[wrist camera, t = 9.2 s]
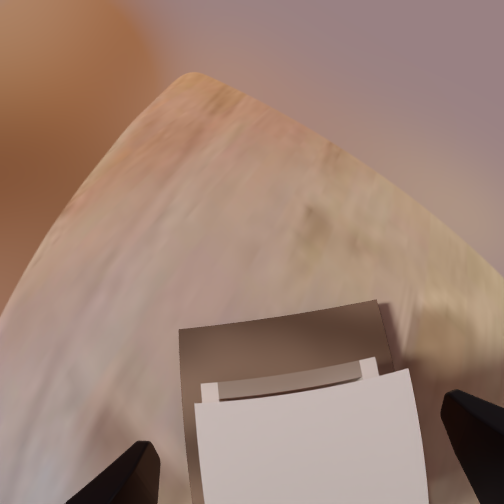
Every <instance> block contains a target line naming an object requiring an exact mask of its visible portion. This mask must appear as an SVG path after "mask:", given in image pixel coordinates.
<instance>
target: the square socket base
mask: <svg viewBox="0 0 504 504" xmlns="http://www.w3.org/2000/svg"><path fill="white" fill-rule="evenodd" d="M179 353H180V375H181V392H182V407H183V420H184V432H185V443H186V453H187V462H188V471H189V480H190V488H191V496H192V503H193V504H205V502H204V494H203V486H202V478H201V469H200V460H199V451H198V441H197V430H196V418H195V406H194V403H211V402H224V401H235V400H245V399H254V398H263V397H271V396H278V395H285V394H292V393H298V392H304V391H310V390H316V389H321V388H327V387H332V386H337V385H342V384H347V383H351V382H356V381H360V380H365V379H369V378H373V377H377V376H381V375H385V374H389V373H393V372H395V371H394V367H393V362H392V358H391V354H390V349H389V345H388V341H387V337H386V333H385V329H384V325H383V321H382V318H381V314H380V310H379V307H378V303H377V300H372V301H367V302H362V303H356V304H351V305H346V306H340V307H335V308H329V309H324V310H318V311H312V312H306V313H300V314H294V315H287V316H281V317H274V318H267V319H260V320H253V321H246V322H238V323H231V324H223V325H215V326H206V327H197V328H188V329H179Z"/></svg>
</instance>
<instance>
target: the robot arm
mask: <svg viewBox="0 0 504 504" xmlns="http://www.w3.org/2000/svg"><path fill="white" fill-rule="evenodd" d="M441 419H442V421H443V424H444V426H445V429H446V431H447V434H448V436H449V439H450V441H451V444H452V447H453V449H454V452H455V454H456V456H457V458H458V460H459V462H460V464H461V466H462V468H463V470H464V472H465V474H466V476H467V478H468V480H469V482H470V484H471V486H472V488H473V490H474V492H475V494H476V496H477V498H478V500H479V502H480V504H504V408H502V407H500V406H497V405H495V404H492V403H490V402H487V401H485V400H483V399H480V398H478V397H475V396H473V395H470V394H468V393H466V392H463V391H461V390H458V389H455V390H452V391H450V392H447V393H446V394H445V396H444V400H443V404H442V408H441ZM159 476H160V458H159V456H158V454H157V452H156V450H155V448H154V446H153V444H152V443H151V442H150V441H137V442H135V443H134V444H133V445H132V446H131V447H130V448H129V449H128V450H126V451H125V452H124V453H123V454H122V455H121V456H120V457H119V458H117V459H116V460H115V461H114V462H113V463H112V464H111V465H109V466H108V467H107V468H106V469H105V470H104V471H103V472H101V473H100V474H99V475H98V476H97V477H96V478H94V479H93V480H92V481H91V482H90V483H88V484H87V485H86V486H85V487H84V488H82V489H81V490H80V491H79V492H78V493H76V494H75V495H74V496H73V497H72V498H70V499H69V500H68V501H67V502H66V504H157V503H158V490H159Z"/></svg>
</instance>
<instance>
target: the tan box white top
mask: <svg viewBox="0 0 504 504" xmlns="http://www.w3.org/2000/svg"><path fill="white" fill-rule="evenodd" d="M194 406H195V418H196V430H197V441H198V451H199V460H200V469H201V478H202V486H203V494H204V502H205V504H429V500H428V488H427V478H426V468H425V460H424V452H423V445H422V438H421V432H420V426H419V420H418V414H417V408H416V403H415V398H414V393H413V388H412V383H411V378H410V374H409V369H408V368H407V369H404V370H400V371H396V372H393V373H389V374H385V375H381V376H377V377H373V378H369V379H365V380H360V381H356V382H351V383H347V384H342V385H337V386H332V387H327V388H321V389H316V390H310V391H304V392H298V393H292V394H285V395H278V396H271V397H263V398H254V399H245V400H235V401H224V402H211V403H194Z"/></svg>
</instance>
